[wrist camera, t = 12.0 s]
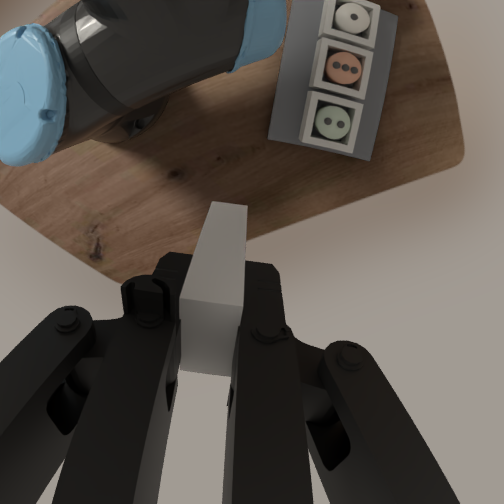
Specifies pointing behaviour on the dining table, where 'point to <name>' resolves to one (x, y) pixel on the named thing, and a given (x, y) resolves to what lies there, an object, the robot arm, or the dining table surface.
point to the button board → (320, 88)
